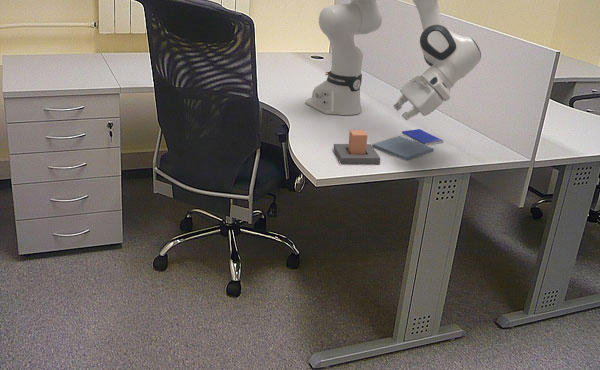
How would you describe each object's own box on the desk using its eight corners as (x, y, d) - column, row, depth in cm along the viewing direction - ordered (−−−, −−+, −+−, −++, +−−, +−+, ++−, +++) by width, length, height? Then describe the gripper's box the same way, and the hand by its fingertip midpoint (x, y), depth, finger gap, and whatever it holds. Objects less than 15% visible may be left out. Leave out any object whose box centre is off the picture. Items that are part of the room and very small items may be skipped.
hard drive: (443, 140, 218) (420, 128, 228) (424, 142, 214) (401, 131, 224) (443, 144, 218) (419, 132, 228) (424, 147, 215) (401, 135, 224)
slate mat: (372, 146, 210) (372, 144, 210) (399, 138, 219) (399, 135, 219) (406, 160, 201) (406, 157, 201) (433, 151, 210) (433, 148, 210)
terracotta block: (350, 159, 199) (352, 135, 196) (347, 154, 203) (349, 130, 200) (364, 159, 200) (367, 135, 196) (361, 154, 204) (364, 130, 200)
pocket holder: (340, 164, 195) (341, 158, 194) (333, 149, 206) (333, 143, 205) (379, 164, 197) (380, 158, 196) (370, 150, 208) (370, 144, 207)
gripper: (418, 66, 203) (384, 96, 205) (440, 84, 184) (402, 116, 187) (429, 80, 205) (396, 109, 208) (452, 99, 187) (415, 131, 189)
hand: (399, 113), depth 197 cm, fingers open, 8 cm apart
